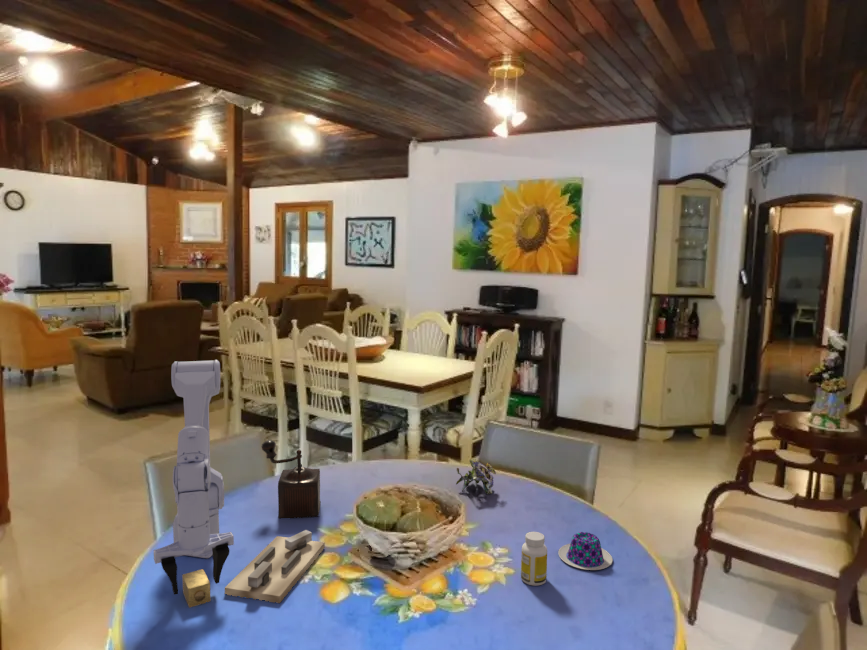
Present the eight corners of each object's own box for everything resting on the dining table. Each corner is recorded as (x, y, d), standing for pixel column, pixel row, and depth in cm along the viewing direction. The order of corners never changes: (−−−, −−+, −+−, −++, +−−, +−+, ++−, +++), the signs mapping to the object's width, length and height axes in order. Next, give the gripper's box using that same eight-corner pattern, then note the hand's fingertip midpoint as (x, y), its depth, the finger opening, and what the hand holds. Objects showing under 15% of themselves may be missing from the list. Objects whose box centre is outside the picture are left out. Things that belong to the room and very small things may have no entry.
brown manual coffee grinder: (321, 499, 164) (320, 436, 162) (318, 517, 153) (318, 450, 151) (263, 501, 162) (262, 438, 160) (257, 520, 151) (255, 452, 149)
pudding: (548, 558, 135) (549, 537, 134) (575, 540, 144) (576, 520, 143) (596, 579, 127) (597, 556, 126) (621, 558, 135) (623, 537, 135)
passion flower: (488, 511, 170) (499, 488, 162) (451, 504, 170) (460, 481, 162) (488, 477, 179) (499, 454, 171) (453, 471, 178) (462, 448, 170)
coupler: (189, 609, 114) (188, 590, 113) (182, 592, 120) (181, 573, 119) (211, 602, 116) (210, 583, 116) (203, 586, 122) (202, 568, 121)
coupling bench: (224, 594, 119) (224, 574, 118) (277, 542, 140) (276, 524, 139) (279, 603, 116) (279, 582, 115) (324, 548, 137) (324, 530, 137)
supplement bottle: (548, 575, 127) (549, 532, 126) (544, 588, 122) (546, 544, 121) (523, 570, 129) (524, 528, 128) (518, 583, 124) (519, 539, 123)
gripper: (156, 539, 108) (159, 608, 110) (236, 520, 116) (238, 585, 118) (150, 523, 114) (154, 589, 116) (228, 507, 122) (230, 569, 124)
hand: (196, 586), depth 117 cm, fingers open, 7 cm apart
